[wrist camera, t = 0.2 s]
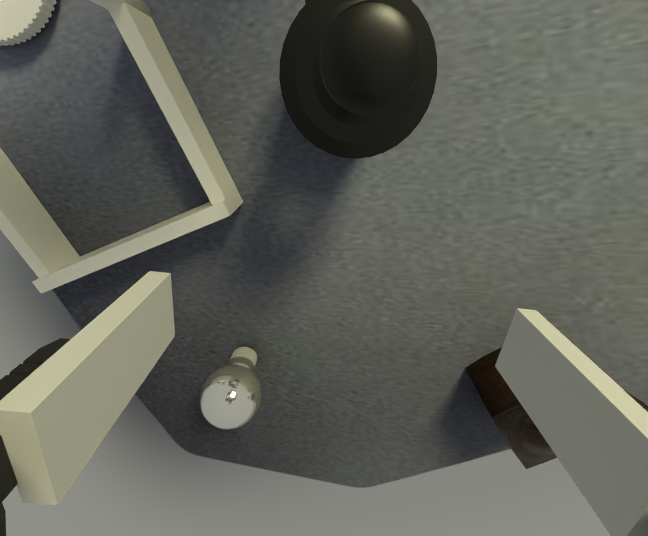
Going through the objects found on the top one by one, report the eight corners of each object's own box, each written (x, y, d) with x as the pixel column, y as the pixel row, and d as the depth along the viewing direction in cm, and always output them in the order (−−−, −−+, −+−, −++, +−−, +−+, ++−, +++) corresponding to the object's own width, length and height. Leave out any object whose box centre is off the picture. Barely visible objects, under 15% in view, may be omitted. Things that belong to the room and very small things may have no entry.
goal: (-51, 102, 36) (-182, 96, 27) (144, -4, 32) (71, -53, 23) (75, 272, 43) (8, 313, 34) (245, 201, 40) (221, 226, 30)
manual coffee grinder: (565, 380, 50) (686, 512, 33) (493, 413, 52) (571, 551, 36) (524, 301, 45) (641, 409, 28) (446, 342, 47) (511, 463, 30)
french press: (404, 127, 37) (513, 140, 15) (322, 164, 38) (317, 221, 17) (365, 2, 32) (440, -219, 11) (274, 49, 34) (188, -69, 13)
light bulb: (210, 351, 48) (176, 420, 37) (243, 320, 46) (216, 383, 35) (249, 379, 50) (228, 454, 39) (282, 350, 48) (269, 420, 37)
